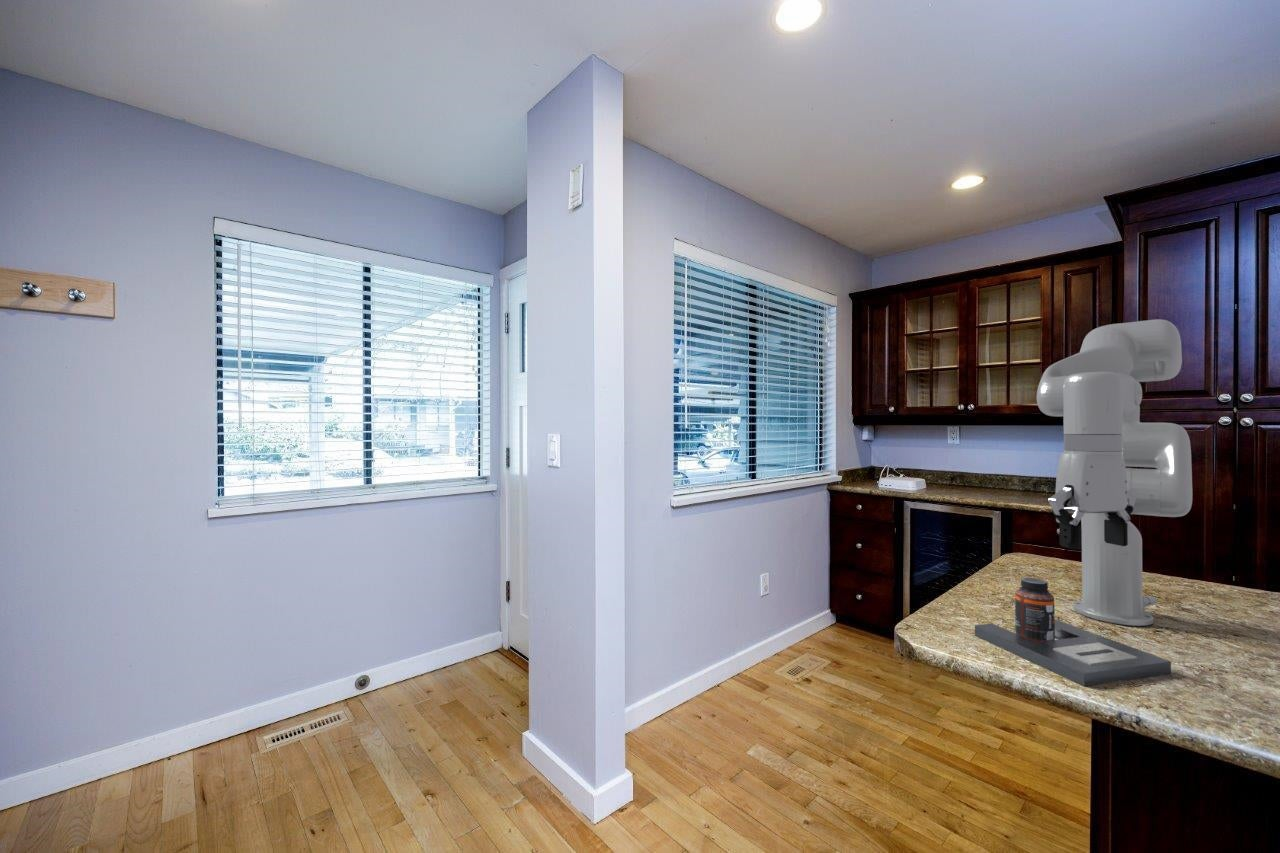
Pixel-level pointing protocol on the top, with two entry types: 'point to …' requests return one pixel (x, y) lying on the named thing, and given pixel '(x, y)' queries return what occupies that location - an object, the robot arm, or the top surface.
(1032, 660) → the plate
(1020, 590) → the supplement bottle
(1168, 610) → the top surface
